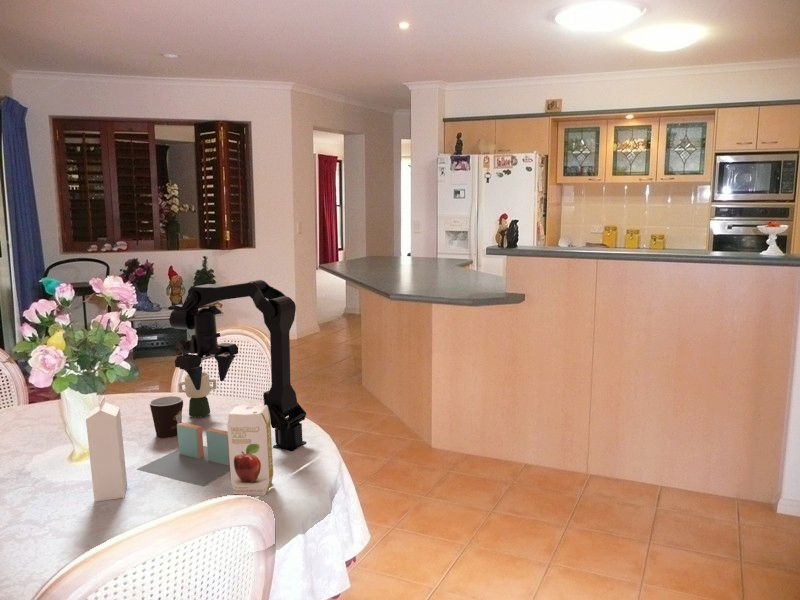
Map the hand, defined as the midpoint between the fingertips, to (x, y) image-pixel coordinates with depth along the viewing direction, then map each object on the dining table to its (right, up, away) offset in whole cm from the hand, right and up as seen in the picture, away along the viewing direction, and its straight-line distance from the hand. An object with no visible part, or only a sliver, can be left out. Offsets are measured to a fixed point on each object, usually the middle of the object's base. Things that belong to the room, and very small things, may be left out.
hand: (210, 385), depth 173 cm
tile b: (0, -16, -14) cm, 21 cm away
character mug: (-8, -12, +17) cm, 22 cm away
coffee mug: (-11, -14, +3) cm, 18 cm away
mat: (+3, -17, -19) cm, 26 cm away
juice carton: (+20, -19, -33) cm, 43 cm away
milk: (-12, -20, -34) cm, 41 cm away
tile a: (+8, -17, -19) cm, 26 cm away
